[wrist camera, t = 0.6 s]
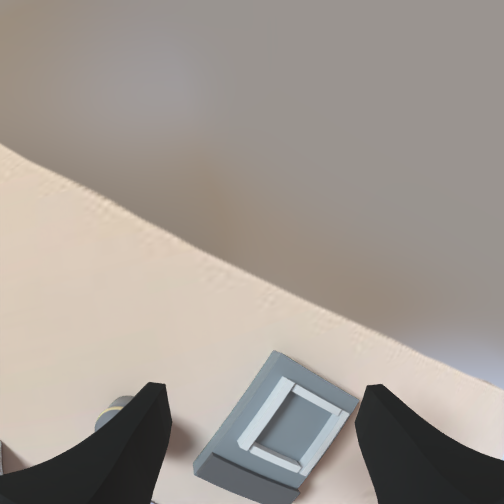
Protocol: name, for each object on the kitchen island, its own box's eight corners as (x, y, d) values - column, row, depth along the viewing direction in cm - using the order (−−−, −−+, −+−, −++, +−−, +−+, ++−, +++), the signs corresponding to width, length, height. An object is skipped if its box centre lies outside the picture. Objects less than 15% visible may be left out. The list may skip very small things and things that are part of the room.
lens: (139, 444, 27) (131, 467, 21) (101, 418, 26) (85, 436, 21) (162, 412, 28) (157, 432, 22) (122, 385, 28) (109, 399, 22)
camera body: (272, 497, 28) (284, 517, 23) (193, 462, 27) (194, 482, 23) (346, 394, 32) (368, 403, 28) (273, 350, 32) (287, 355, 27)
